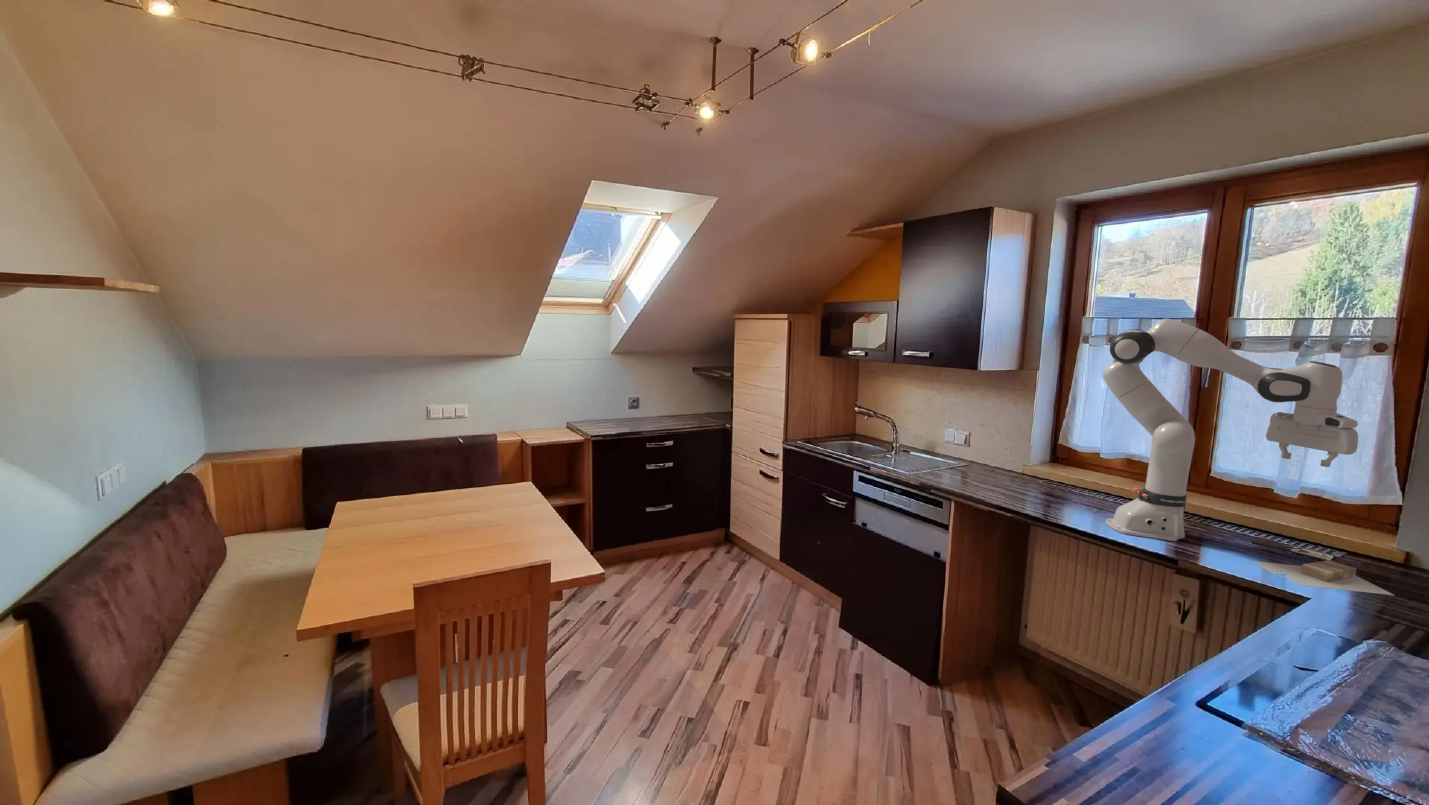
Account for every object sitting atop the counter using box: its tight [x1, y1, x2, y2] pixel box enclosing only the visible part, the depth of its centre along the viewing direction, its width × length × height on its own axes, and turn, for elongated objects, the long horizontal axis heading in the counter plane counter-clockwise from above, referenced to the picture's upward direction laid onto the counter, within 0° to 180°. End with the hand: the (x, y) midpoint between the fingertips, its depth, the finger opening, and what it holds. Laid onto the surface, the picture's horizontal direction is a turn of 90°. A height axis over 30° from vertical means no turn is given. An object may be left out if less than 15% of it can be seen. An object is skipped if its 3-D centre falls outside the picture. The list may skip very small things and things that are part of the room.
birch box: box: [1300, 560, 1357, 581], centre depth 172 cm, size 3×6×13 cm
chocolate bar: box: [1251, 536, 1335, 562], centre depth 193 cm, size 9×1×18 cm
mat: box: [1252, 560, 1394, 596], centre depth 171 cm, size 24×16×1 cm, turn 79°
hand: (1305, 462), depth 179 cm, fingers open, 8 cm apart
